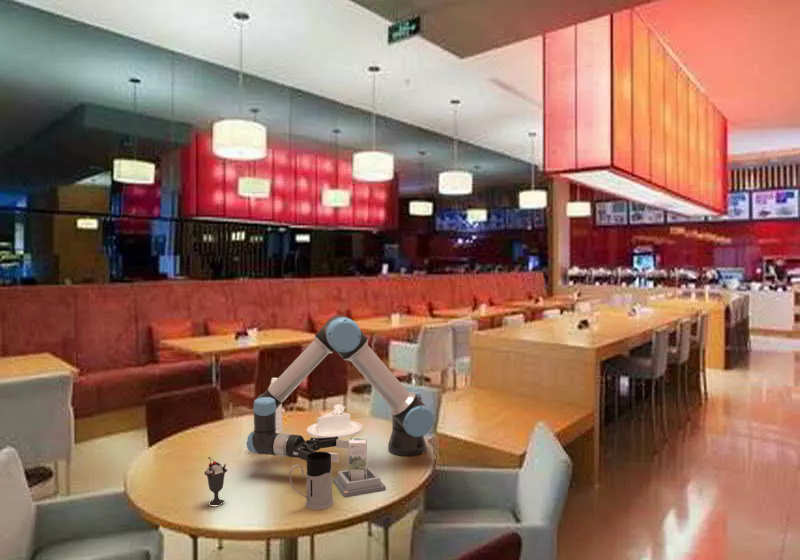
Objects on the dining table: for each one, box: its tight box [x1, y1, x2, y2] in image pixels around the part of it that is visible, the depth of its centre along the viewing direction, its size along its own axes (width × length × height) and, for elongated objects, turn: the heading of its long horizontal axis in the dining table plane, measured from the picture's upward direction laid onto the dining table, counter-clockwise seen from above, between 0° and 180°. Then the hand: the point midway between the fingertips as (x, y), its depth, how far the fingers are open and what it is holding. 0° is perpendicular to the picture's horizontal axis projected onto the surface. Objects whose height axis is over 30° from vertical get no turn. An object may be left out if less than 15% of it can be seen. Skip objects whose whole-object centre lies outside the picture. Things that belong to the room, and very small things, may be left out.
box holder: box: [332, 466, 387, 498], centre depth 187 cm, size 14×14×4 cm
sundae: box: [204, 456, 228, 506], centre depth 174 cm, size 7×7×15 cm
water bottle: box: [268, 377, 283, 433], centre depth 240 cm, size 9×6×25 cm
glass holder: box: [289, 451, 335, 511], centre depth 172 cm, size 9×14×15 cm, turn 125°
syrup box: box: [348, 437, 368, 482], centre depth 187 cm, size 6×6×14 cm
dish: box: [306, 403, 363, 439], centre depth 250 cm, size 25×25×11 cm
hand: (346, 451), depth 188 cm, fingers open, 13 cm apart
